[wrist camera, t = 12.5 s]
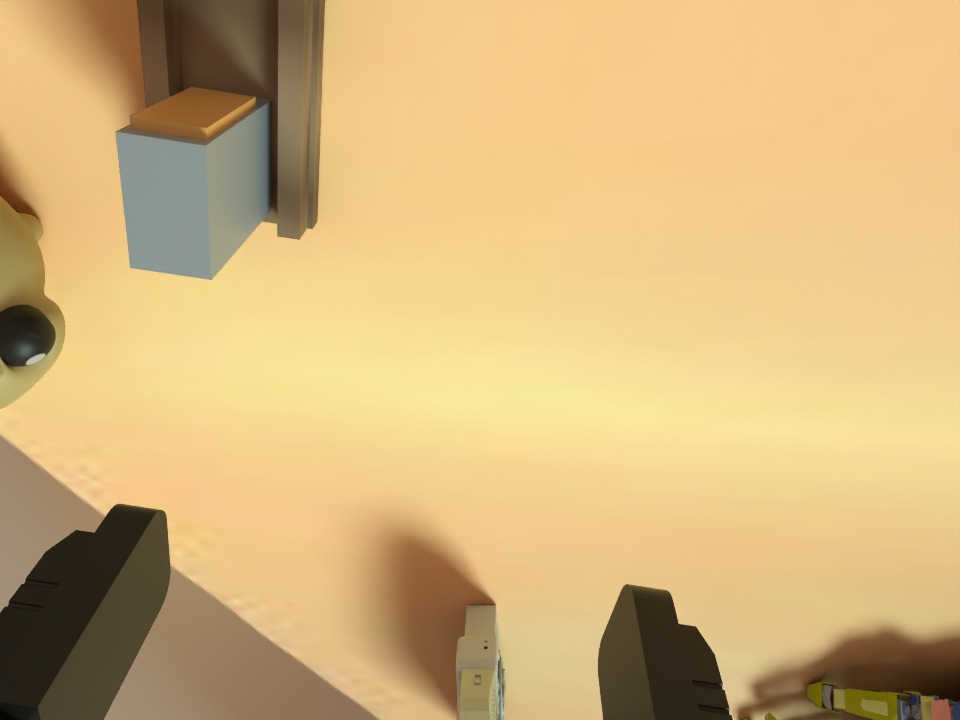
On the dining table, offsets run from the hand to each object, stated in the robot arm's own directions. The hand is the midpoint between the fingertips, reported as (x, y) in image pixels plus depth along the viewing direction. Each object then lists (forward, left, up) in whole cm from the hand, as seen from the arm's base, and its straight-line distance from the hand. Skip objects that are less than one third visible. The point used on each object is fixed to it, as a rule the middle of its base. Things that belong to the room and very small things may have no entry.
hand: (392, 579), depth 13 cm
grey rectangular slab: (+35, +6, -25) cm, 44 cm away
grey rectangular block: (0, -10, -23) cm, 26 cm away
